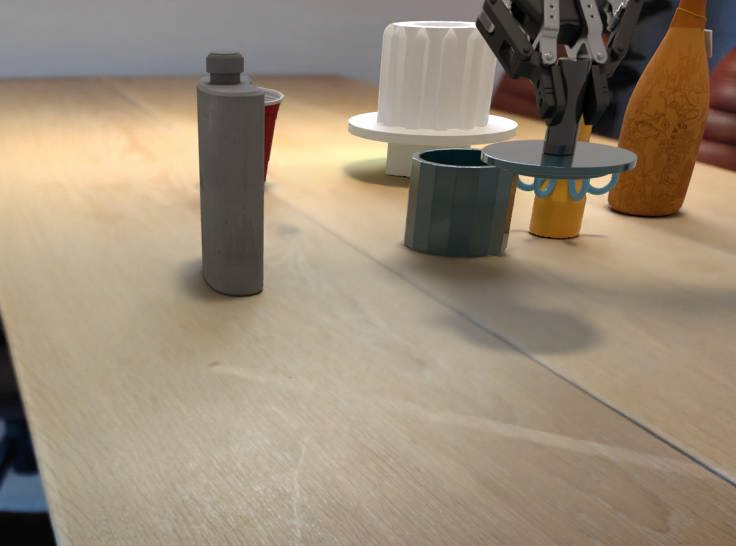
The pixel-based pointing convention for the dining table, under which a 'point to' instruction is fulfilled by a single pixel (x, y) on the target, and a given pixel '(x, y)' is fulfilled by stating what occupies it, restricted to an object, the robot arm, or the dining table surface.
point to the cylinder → (562, 200)
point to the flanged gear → (433, 92)
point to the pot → (458, 204)
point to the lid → (562, 140)
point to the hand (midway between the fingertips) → (576, 117)
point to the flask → (231, 175)
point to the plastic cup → (270, 122)
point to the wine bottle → (667, 118)
